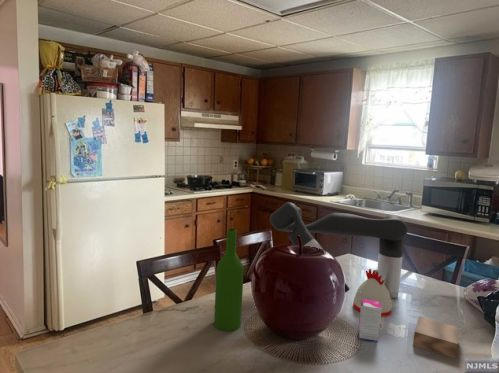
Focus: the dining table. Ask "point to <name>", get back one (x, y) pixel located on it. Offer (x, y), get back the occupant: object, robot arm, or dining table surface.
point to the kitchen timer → (373, 293)
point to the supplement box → (369, 320)
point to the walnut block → (436, 337)
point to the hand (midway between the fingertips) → (344, 295)
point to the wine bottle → (229, 287)
